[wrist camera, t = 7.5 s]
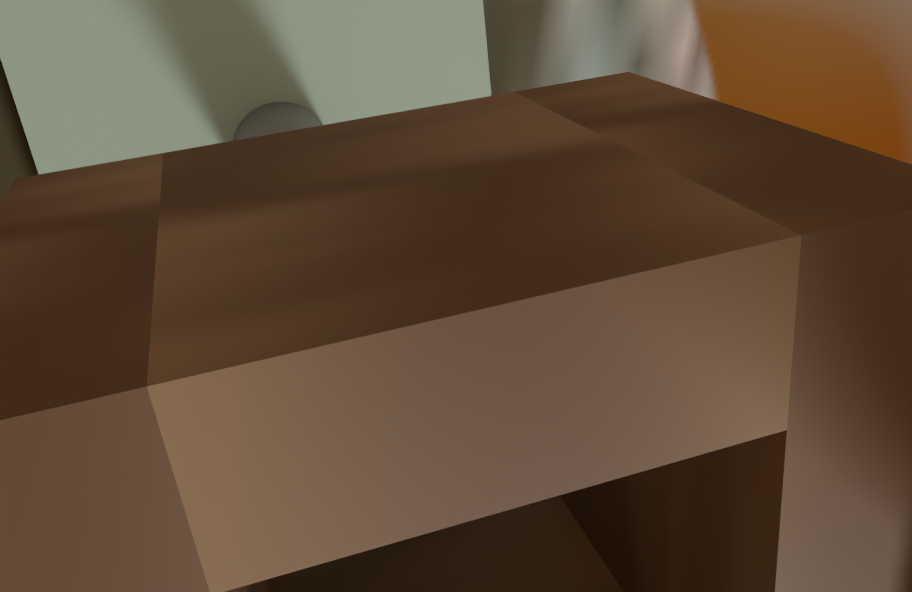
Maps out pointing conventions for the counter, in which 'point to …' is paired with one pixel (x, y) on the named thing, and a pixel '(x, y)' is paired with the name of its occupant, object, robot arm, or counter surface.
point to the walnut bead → (464, 357)
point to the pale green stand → (226, 69)
